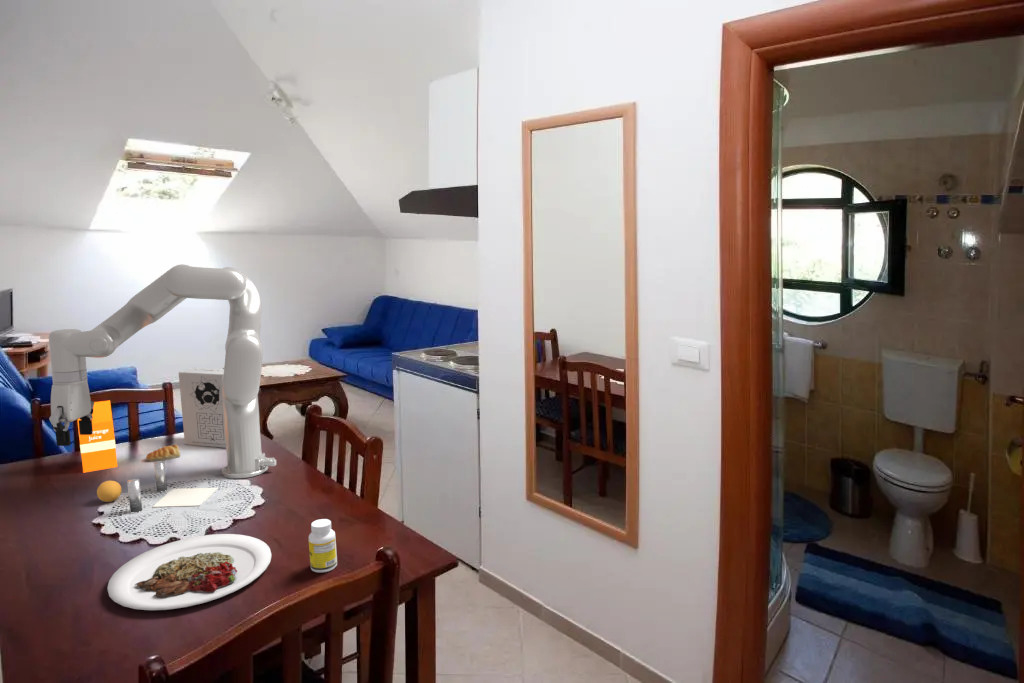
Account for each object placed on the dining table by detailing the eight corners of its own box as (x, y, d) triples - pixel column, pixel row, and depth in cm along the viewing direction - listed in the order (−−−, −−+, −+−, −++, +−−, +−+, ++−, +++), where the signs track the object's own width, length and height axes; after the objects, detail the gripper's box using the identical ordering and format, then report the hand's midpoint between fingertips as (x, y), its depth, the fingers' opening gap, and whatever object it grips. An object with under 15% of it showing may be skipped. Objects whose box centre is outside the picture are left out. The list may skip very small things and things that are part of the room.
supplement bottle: (313, 561, 137) (310, 517, 135) (339, 560, 137) (337, 516, 136) (307, 574, 132) (304, 529, 130) (334, 572, 132) (332, 527, 131)
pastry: (149, 464, 197) (147, 452, 197) (144, 459, 202) (143, 447, 202) (182, 458, 203) (181, 446, 203) (176, 453, 209) (175, 441, 208)
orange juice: (117, 467, 195) (111, 402, 192) (82, 472, 190) (75, 407, 187) (116, 459, 201) (109, 397, 198) (82, 465, 196) (75, 401, 193)
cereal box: (255, 442, 218) (249, 370, 214) (240, 449, 211) (235, 374, 207) (200, 438, 223) (194, 367, 219) (184, 444, 216) (177, 371, 212)
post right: (168, 488, 178) (166, 460, 177) (164, 491, 175) (161, 463, 174) (159, 488, 178) (156, 460, 176) (154, 492, 175) (151, 464, 174)
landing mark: (218, 488, 178) (218, 487, 177) (200, 506, 166) (199, 505, 166) (173, 489, 177) (173, 488, 177) (152, 507, 165) (151, 506, 165)
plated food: (163, 541, 147) (162, 527, 147) (293, 542, 146) (292, 528, 146) (71, 616, 118) (69, 599, 117) (232, 618, 117) (231, 601, 116)
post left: (144, 508, 164) (141, 478, 163) (139, 512, 162) (135, 482, 161) (133, 508, 164) (130, 478, 163) (128, 513, 162) (125, 482, 160)
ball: (126, 496, 172) (124, 477, 171) (115, 505, 167) (113, 484, 166) (105, 497, 172) (103, 477, 171) (93, 505, 166) (91, 485, 165)
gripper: (75, 370, 177) (80, 430, 179) (32, 383, 160) (39, 450, 162) (103, 370, 177) (108, 430, 180) (64, 383, 160) (70, 450, 163)
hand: (75, 439), depth 171 cm, fingers open, 9 cm apart
